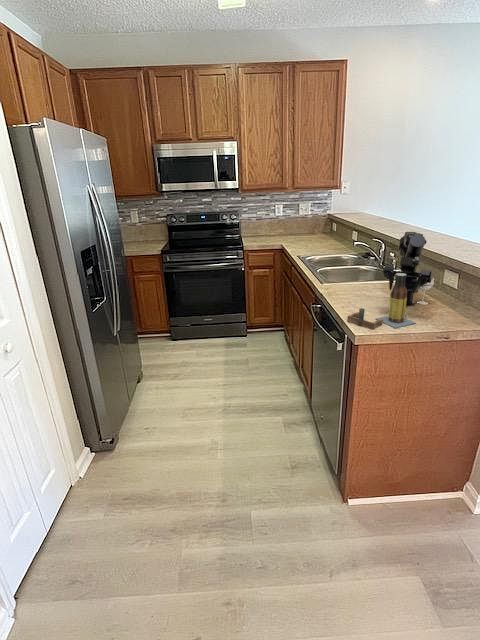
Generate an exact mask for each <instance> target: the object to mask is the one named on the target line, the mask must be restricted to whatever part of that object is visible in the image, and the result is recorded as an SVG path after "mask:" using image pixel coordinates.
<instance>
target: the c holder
mask: <svg viewBox="0 0 480 640" xmlns="http://www.w3.org/2000/svg"><path fill="white" fill-rule="evenodd" d="M364 318H365V308H359V309H358V311H356V312H354V313H352V314H349V315H348V316H347V317H346V320H347V321H346V322H347V323H350V324H353V325H357V326H358V327H362V328H366V329H369V330H375V329H377V328H379V327H381V326H383V324H384V323H383V319H379V320H375V321H373V322H371V321H370V320H366V319H364Z"/></svg>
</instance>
